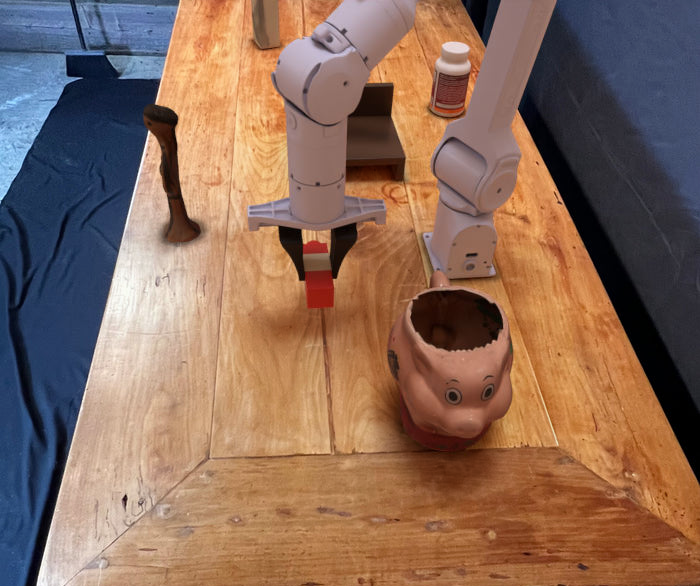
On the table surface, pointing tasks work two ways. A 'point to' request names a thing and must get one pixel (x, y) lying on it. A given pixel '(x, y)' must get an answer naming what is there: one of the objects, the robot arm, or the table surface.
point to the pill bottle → (450, 80)
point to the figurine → (170, 172)
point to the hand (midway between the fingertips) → (317, 274)
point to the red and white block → (318, 275)
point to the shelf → (374, 131)
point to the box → (266, 23)
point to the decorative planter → (451, 364)
